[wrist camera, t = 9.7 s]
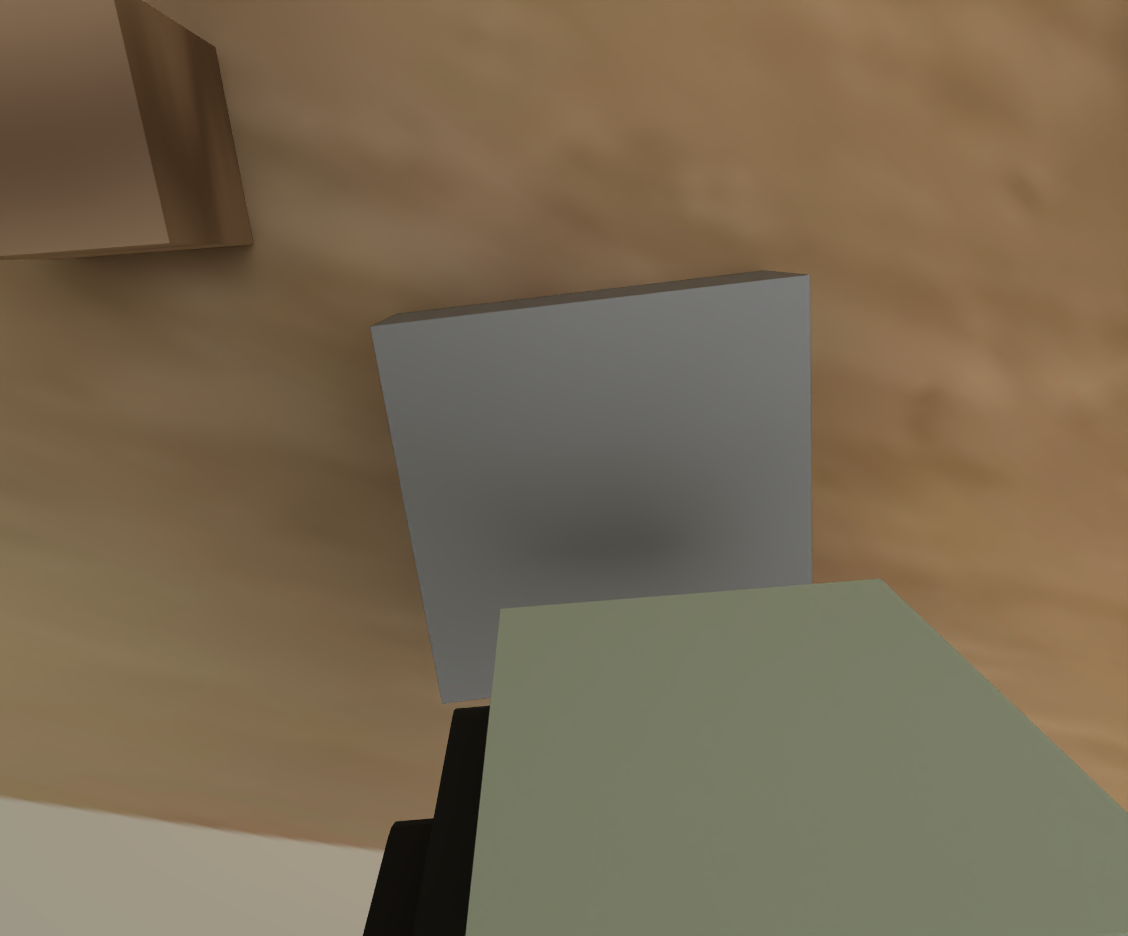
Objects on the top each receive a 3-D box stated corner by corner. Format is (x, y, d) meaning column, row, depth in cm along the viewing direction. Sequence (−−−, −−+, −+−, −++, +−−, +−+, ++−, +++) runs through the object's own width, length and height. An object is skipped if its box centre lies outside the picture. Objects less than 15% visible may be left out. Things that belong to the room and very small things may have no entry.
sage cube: (500, 609, 9) (460, 989, 4) (880, 578, 9) (1243, 923, 5) (532, 905, 11) (526, 1434, 6) (861, 877, 11) (1118, 1377, 6)
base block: (399, 312, 21) (370, 326, 18) (760, 270, 21) (809, 274, 18) (456, 633, 25) (442, 703, 21) (769, 595, 25) (812, 658, 21)
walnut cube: (27, 61, 19) (-146, -2, 14) (216, 48, 19) (109, -21, 14) (79, 258, 20) (-61, 260, 15) (255, 244, 20) (169, 242, 16)
